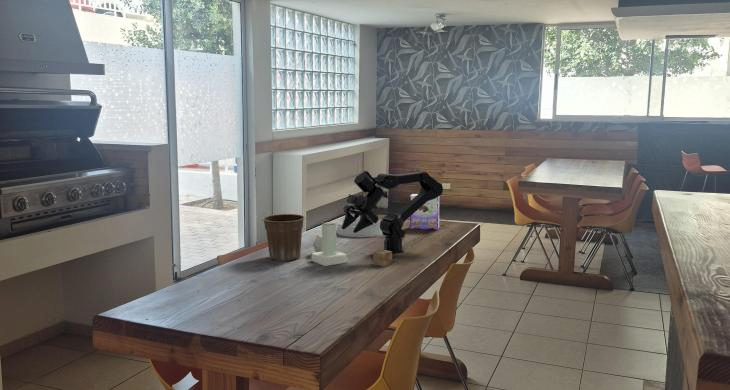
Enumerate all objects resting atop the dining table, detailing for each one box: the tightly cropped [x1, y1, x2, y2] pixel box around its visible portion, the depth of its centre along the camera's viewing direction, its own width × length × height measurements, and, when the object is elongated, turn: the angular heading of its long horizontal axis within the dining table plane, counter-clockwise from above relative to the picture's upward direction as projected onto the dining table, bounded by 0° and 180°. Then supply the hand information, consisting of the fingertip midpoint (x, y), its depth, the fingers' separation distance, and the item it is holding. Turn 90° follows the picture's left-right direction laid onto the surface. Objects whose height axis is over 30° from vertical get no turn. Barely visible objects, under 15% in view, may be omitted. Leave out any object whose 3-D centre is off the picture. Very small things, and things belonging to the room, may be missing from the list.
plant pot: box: [262, 213, 305, 262], centre depth 256 cm, size 16×16×16 cm
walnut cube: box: [372, 249, 393, 267], centre depth 246 cm, size 5×5×5 cm
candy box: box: [409, 193, 440, 231], centre depth 313 cm, size 14×6×16 cm, turn 77°
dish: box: [336, 217, 383, 238], centre depth 305 cm, size 22×22×5 cm
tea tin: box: [321, 221, 337, 256], centre depth 249 cm, size 4×4×12 cm
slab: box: [311, 250, 348, 267], centre depth 250 cm, size 10×10×3 cm
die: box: [312, 234, 322, 253], centre depth 262 cm, size 8×9×10 cm
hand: (348, 230), depth 254 cm, fingers open, 9 cm apart
